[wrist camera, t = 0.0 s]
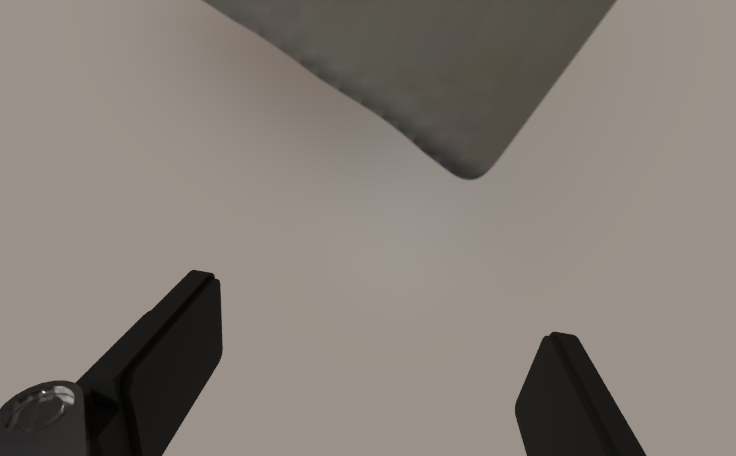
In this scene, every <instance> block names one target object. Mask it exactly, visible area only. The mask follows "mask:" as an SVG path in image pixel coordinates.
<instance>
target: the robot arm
mask: <svg viewBox="0 0 736 456" xmlns="http://www.w3.org/2000/svg"><path fill="white" fill-rule="evenodd" d="M222 349H223V347H222V320H221V293H220V281H219V280H218V279H215V277H214V274H213V273H209V272H203V271H197V270H192V271H190V272H189V273H188V274H187V275H186V276H185V277H184V278H183V279H182V280H181V281H180V282H179V283H178V284H177V285H176V286H175V287H174V288H173V289H172V290H171V291H170V292H169V293H168V294H167V295H166V296H165V297H164V298H163V299H162V300H161V301H160V302H159V303H158V304H157V305H156V306H155V307H154V308H153V309H152V310H151V311H149V312H147V313H146V314H145V315H143V316H142V318H140V320H138V321H137V322H136V323H135V324H134V325H133V326H132V327H131V328H130V330H128V331H127V332H126V333H125V334H124V335H123V336H122V337H121V338H120V339H119V340H118V341H117V342H116V343H115V344H114V345H113V346H112V347H111V348H110V349H109V350H108V351H107V352H106V353H105V354H104V355H103V356H102V357H101V358H100V359H99V360H98V361H97V362H96V363H95V364H94V365H93V366H92V367H91V368H90V369H89V370H88V371H87V372H86V373H85V374H84V375H83V376H82V377H81V378H80V379H79V380H78V381H77V382H76V383H73V382H69V381H50V382H45V383H41V384H38V385H36V386H33V387H30V388H28V389H26V390H24V391H22V392H20V393H19V394H17V395H15V396H14V397H13V398H11V399H10V400H9V401H8V402H6V403H5V404H4V405H3V406H2V407H1V409H0V456H162V454H163V453H164V451H165V450H166V448H167V446H168V445H169V443H170V441H171V440H172V438H173V437H174V435H175V433H176V432H177V430H178V428H179V427H180V425H181V423H182V422H183V420H184V419H185V417H186V415H187V414H188V412H189V411H190V409H191V407H192V406H193V404H194V402H195V400H196V399H197V398H198V396H199V394H200V393H201V391H202V389H203V388H204V386H205V385H206V383H207V381H208V380H209V378H210V376H211V375H212V373H213V371H214V369H215V368H216V366H217V365H218V363H219V361H220V359H221V356H222ZM515 415H516V418H517V422H518V426H519V429H520V433H521V436H522V439H523V443H524V446H525V450H526V453H527V456H646V454H645V453H644V451H643V449H642V447H641V446H640V444H639V442H638V440H637V439H636V437H635V435H634V434H633V432H632V430H631V428H630V427H629V425H628V423H627V421H626V420H625V418H624V416H623V415H622V413H621V411H620V410H619V408H618V406H617V404H616V403H615V401H614V399H613V397H612V396H611V394H610V392H609V391H608V389H607V387H606V386H605V384H604V382H603V380H602V379H601V377H600V375H599V374H598V372H597V370H596V368H595V367H594V365H593V363H592V361H591V360H590V358H589V356H588V354H587V353H586V351H585V350H584V348H583V346H582V344H581V343H580V341H579V339H578V338H577V337H576V336H575V335H571V334H565V333H559V332H552V333H551V334H550V336H545V337H544V338H543V340H542V342H541V344H540V347H539V349H538V351H537V354H536V356H535V358H534V361H533V363H532V365H531V368H530V370H529V373H528V375H527V377H526V380H525V382H524V384H523V387H522V389H521V392H520V394H519V396H518V399H517V401H516V405H515Z"/></svg>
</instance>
